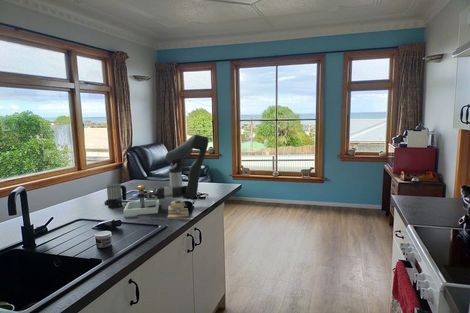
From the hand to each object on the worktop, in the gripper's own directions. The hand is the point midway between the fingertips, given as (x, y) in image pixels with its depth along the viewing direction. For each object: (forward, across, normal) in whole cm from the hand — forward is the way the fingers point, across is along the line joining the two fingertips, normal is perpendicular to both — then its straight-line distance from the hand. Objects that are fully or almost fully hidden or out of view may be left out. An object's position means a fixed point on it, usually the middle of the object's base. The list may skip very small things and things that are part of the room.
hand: (138, 194), depth 194 cm
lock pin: (-2, 0, +10) cm, 10 cm away
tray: (-2, 0, +11) cm, 11 cm away
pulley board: (-24, +7, +11) cm, 27 cm away
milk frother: (+19, -20, +11) cm, 30 cm away
